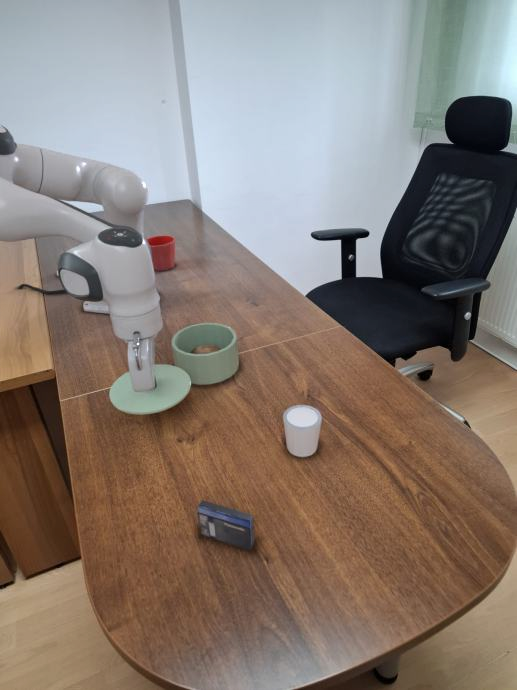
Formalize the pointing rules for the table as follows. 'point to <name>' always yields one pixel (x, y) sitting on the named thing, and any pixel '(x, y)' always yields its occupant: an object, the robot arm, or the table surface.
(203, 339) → the pot
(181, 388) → the lid
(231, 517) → the mini dv tape
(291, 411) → the white cup
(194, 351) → the mushroom
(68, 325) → the table surface
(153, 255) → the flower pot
